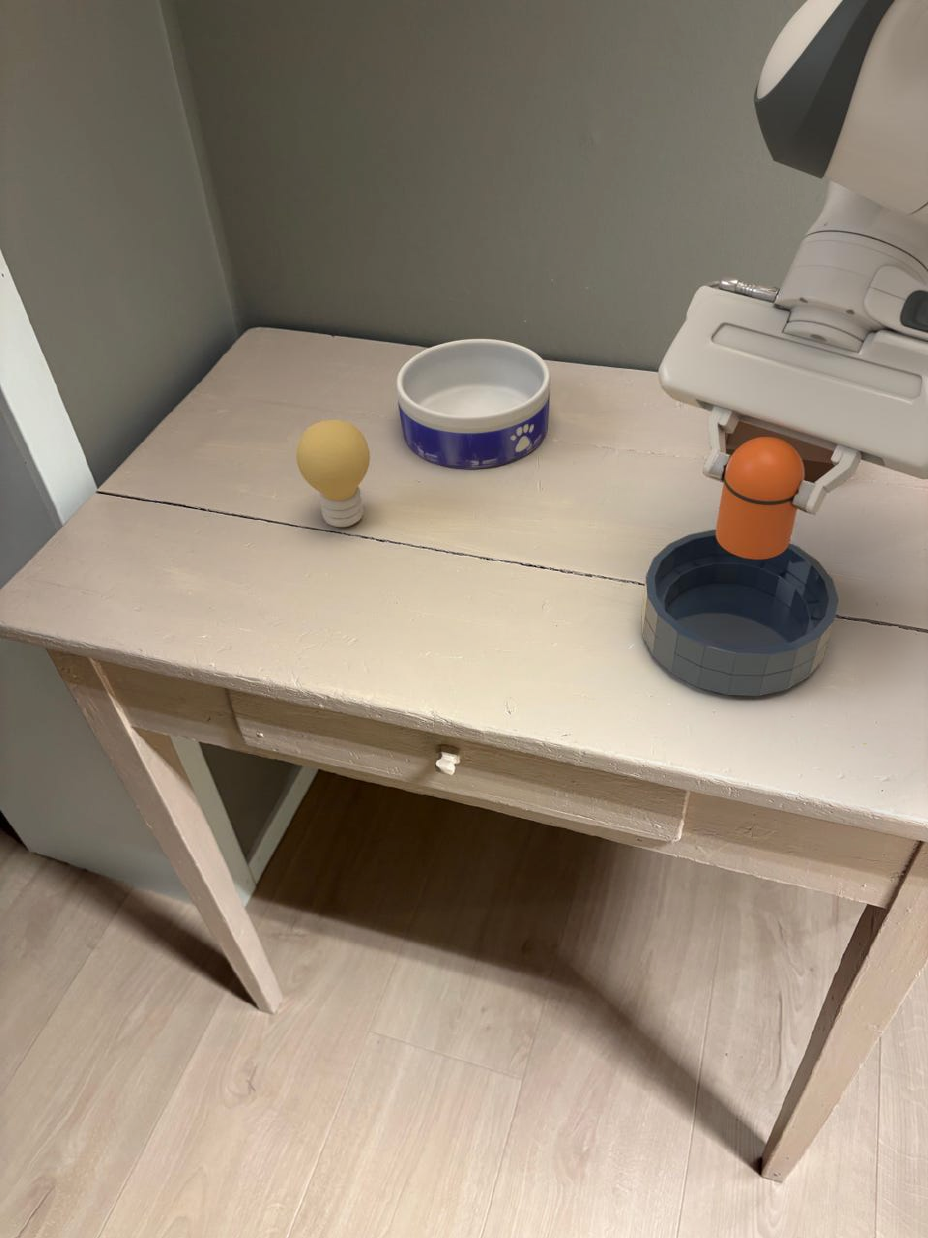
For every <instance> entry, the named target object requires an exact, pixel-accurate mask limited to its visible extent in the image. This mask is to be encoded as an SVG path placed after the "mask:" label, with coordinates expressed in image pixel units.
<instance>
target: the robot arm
mask: <svg viewBox="0 0 928 1238" xmlns="http://www.w3.org/2000/svg"><path fill="white" fill-rule="evenodd" d="M753 104H754V111H755V114H756V119H757V122H758V126H759V129H760V132H761V134H762V138H763V140H764V143H765V145H766V147H767V150H768V152H769V155H770V156H771V158H772V160H773V162H775V163H778V164H781V165H784V166H787V167H789V168H792V169H794V170H796V171H799V172H801V173H805V174H807V175H810V176H811V177H815V178H818V179H821V180H822V179H823V178H825V179H827V180H828V181H829V182H828V185H827V190H826V198H825V203H824V205H823V208H822V210H821V212H820V214H819V216H818V217H817V219H816V220H815V222H814V223H813V224H812V225H811V226H810V227H809V229H807V231H806V232H805V234H804V236H803V237H802V239H801V243H800V245H799V247H798V248H797V251H796V254H795V256H794V258H793V260H792V263H791V264H790V267H789V269H788V271H787V273H786V275H785V277H784V279H783V282H782V284H781V286H780V288H779V287H775V286H771V285H767V284H761V283H754V282H750V281H749V282H747V281H744V280H742V279H740V278H737V277H734V276H722V277H721V278H720V279H719V280H713V281H709V282H707V283H706V284H704V285H702V286H700V287H699V288H698V289H697V290H696V292H695V293H694V296H693V297H692V300H691V301H690V304H689V306H688V308H687V312H686V314H685V315H686V316H685V321H684V322H683V324H682V326H681V327H680V329H679V330H678V331H677V334H676V335H675V337H674V338H673V340H672V342H671V344H670V346H669V347H668V349H667V350H666V353H665V354H664V357H663V359H662V361H661V363H660V365H659V367H658V370H657V375H658V380H659V384H660V387H661V389H662V390H663V391H664V392H665V393H666V395H668V396H669V397H670V398H671V399H672V400H674V401H677V402H680V403H683V404H687V405H688V406H692V407H695V408H698V409H701V410H704V411H708V412H710V414H709V417H708V418H707V429H708V438H709V446H710V447H709V448H710V449H711V450H710V452H709V454H708V456H707V459H706V461H705V463H704V466H703V468H702V475H704V476H705V478H708V479H711V480H713V481H717V482H721V483H724V473H725V471H726V467H727V464H728V461H729V459H730V457H731V455H728V454H726V446H725V432H726V433H729V434H732V433H733V432H734V430H735V428H736V425H737V423H738V421H742V422H745V423H748V424H751V425H754V426H757V427H760V428H764V429H767V430H770V431H773V432H776V433H779V434H782V435H785V436H789V437H792V438H795V439H798V440H801V441H804V442H807V443H810V444H814V445H817V446H820V447H823V448H826V449H829V450H832V451H834V453H833V455H832V457H831V460H832V462H833V464H834V466H835V467H834V468H832V469H831V470H830V471H829V472H827V473H826V474H825V475H823V476H822V477H821V478H820V479H818V480H817V481H816V482H815V483H814V482H808V481H805V480H802V481H801V484H800V486H799V488H798V491H799V493H797V494H796V495H795V496H794V499H793V501H792V506H794V508H796V509H797V511H798V510H799V511H801V512H804V513H806V514H808V515H812V516H816V515H817V513H818V512H819V510H820V508H821V506H822V504H823V502H824V500H825V498H826V496H827V494H828V493H831V492H832V491H833V490H835V489H836V488H838V487H839V486H840V485H842V484H843V483H845V482H846V481H847V480H849V479H850V478H852V477H853V476H854V475H855V474H856V471H857V470H858V467H859V465H860V463H861V461H863V462H867V463H870V464H873V465H876V466H879V467H882V468H886V469H887V470H888V469H889V470H891V471H895V472H898V473H901V474H904V475H908V476H910V477H913V478H916V479H919V480H925V481H927V480H928V0H805V2H804V3H803V4H802V5H801V6H800V7H799V9H797V11H796V12H795V13H794V14H793V15H792V16H791V18H790V19H789V20H788V22H786V24H785V25H784V27H783V28H782V30H781V31H780V32H779V34H778V36H777V38H776V39H775V41H774V43H773V45H772V47H771V48H770V51H769V53H768V55H767V57H766V59H765V62H764V64H763V66H762V69H761V72H760V76H759V78H758V81H757V83H756V86H755V89H754V93H753ZM715 287H718V288H715Z"/></svg>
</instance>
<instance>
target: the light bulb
mask: <svg viewBox="0 0 928 1238" xmlns="http://www.w3.org/2000/svg"><path fill="white" fill-rule="evenodd" d="M369 448H370V447H369V445H368V442H367V439H366V438H365V436H364V434H363V433H362V432H361V430H360V429H359V428H358V427H357V426H355V425H354V424H353V423H351V422H349V421H345V420H341V419H325V420H322V421H318V422H316V423H313V424H312V425H310V426H309V427H307V428H306V429H305V431H304V432H303V433H302V435H301V436H300V439H299V441H298V443H297V448H296V464H297V468H298V471H299V472H300V475H301V476H302V477H303V479H304V481H305V482H306V483H307V484H309V485H310V486H311V487H312V488H313V489H315V490H316V491H317V492H318V498H319V502H320V509H321V514H322V515H321V516H322V518H323V520H324V522H325V523H326V524H327V525H330V526H332V527H335V528H347V527H351V526H353V525H355V524H356V523H358V522H359V521H360V520H361V519H362V517H363V515H364V507H363V501H362V496H361V493H362V492H361V489H360V487H359V486H360V484H361V483H362V482H363V480H364V478H365V477H366V476H367V475H366V474H367V473H368V470H369V468H370V461H371V454H370V449H369Z"/></svg>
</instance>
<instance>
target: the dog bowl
mask: <svg viewBox="0 0 928 1238" xmlns="http://www.w3.org/2000/svg"><path fill="white" fill-rule="evenodd" d="M395 381H396V383H395V384H396V395H397V405H398V412H399V418H400V425H401V429H402V435H403V439H404V441H405V443H406V444H407V446H408V447H409V448H410V449H411V451H412V452H414V454H416V455H417V456H419V457H420V458H422V459H424V460H425V461H428V462H431V463H433V464H436V465H439V466H443V467H447V468H454V469H465V470H477V469H487V468H494V467H498V466H503V465H506V464H509V463H512V462H516V461H517V460H520V459H521V458H523V457H525V456H527V455H528V454H530V453H532V452H533V451H534V450H536V449H537V448H538V447H539V446H540V444H541V443H542V442H543V441H544V439H545V438H546V435H547V433H548V428H549V419H550V417H549V416H550V403H551V402H550V400H551V372H550V369H549V366H548V364H547V362H545V360H544V359H543V358H542V357H541V356H540V355H538V354H537V353H536V352H534V351H533V350H531V349H529V348H527V347H525V346H523V345H520V344H517V343H515V342H514V343H513V342H509V341H505V340H501V339H500V340H499V339H493V338H492V339H491V338H469V339H460V340H459V339H458V340H453V341H449V342H444V343H442V344H437V345H434V346H431V347H429V348H427V349H425V350H422V351H420V352H419V353H417V354H416V355H414V356H413V357H411V358H410V359H408V360H407V361H406V363H404V364H403V366H402V367H401V369H400V370H399V371H398V374H397V377H396V380H395Z"/></svg>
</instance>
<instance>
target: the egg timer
mask: <svg viewBox="0 0 928 1238" xmlns="http://www.w3.org/2000/svg"><path fill="white" fill-rule="evenodd" d="M802 480H804V465H803V462H802V459H801V457H800V455H799V454H798V452H797V451H796V450H795V449H794V448H793V447H792V446H791V445H790V444H788V443H787V442H785V441H783V440H781V439H778V438H773V437H759V438H755V439H752V440H749V441H747V442H746V443H744V444H742V445H741V446H740V447H739V448H738V449H737V450H736V451H735V452H734V453H733V454H732V456H731V457H730V459H729V461H728V464H727V467H726V471H725V473H724V483H723V482H722V483H723V484H722V491H721V496H720V503H719V507H718V508H719V509H718V515H717V519H716V520H717V521H716V526H715V530H716V538H717V541H718V542H719V544H720V545H721V546H722V547H723V548H724V549H725V550H727V551H728V552H730V553H732V554H734V555H736V556H739V557H742V558H746V559H755V560H761V559H769V558H772V557H775V556H778V555H780V554H781V553H783V552H784V551H785V550H786V549H787V547H788V545H789V543H791V542H790V541H791V538H792V534H793V529H794V525H795V520H796V515H797V511H798V509H796V508H794V506H792V501H793V499H794V496H795V495H796V494H797V493H799V491H798V488H799V486H800V484H801V481H802Z"/></svg>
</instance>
